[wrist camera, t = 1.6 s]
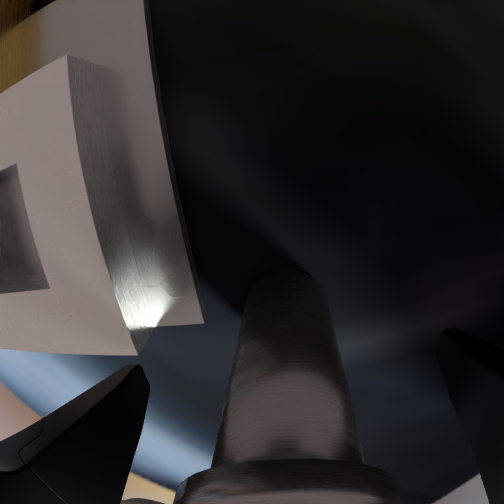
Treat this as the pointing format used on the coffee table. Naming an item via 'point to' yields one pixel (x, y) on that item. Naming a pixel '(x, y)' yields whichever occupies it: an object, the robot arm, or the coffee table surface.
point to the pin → (287, 410)
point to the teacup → (139, 501)
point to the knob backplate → (87, 183)
